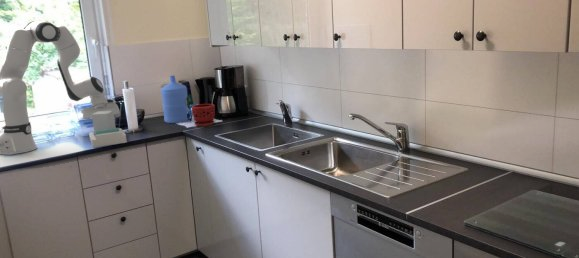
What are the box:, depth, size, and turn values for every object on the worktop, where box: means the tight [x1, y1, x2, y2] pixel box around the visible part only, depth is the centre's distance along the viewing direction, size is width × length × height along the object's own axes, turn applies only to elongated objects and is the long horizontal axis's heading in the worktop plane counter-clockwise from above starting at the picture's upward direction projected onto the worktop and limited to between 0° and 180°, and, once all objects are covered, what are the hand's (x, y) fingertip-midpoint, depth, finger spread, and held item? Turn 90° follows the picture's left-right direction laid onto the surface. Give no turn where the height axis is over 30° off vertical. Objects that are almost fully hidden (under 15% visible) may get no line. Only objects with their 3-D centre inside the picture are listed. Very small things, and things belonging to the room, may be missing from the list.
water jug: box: [160, 75, 190, 124], centre depth 324 cm, size 16×16×28 cm
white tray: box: [88, 127, 128, 148], centre depth 284 cm, size 20×17×6 cm
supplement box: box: [92, 111, 117, 136], centre depth 289 cm, size 9×9×15 cm
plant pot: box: [191, 103, 216, 128], centre depth 308 cm, size 13×13×12 cm
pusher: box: [94, 127, 119, 135], centre depth 279 cm, size 4×12×7 cm, turn 114°
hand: (103, 124), depth 297 cm, fingers closed
